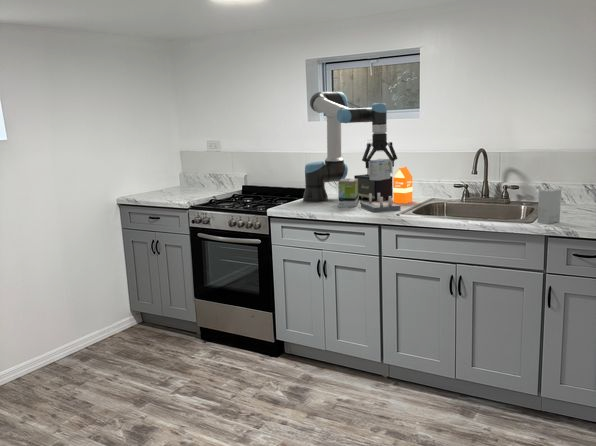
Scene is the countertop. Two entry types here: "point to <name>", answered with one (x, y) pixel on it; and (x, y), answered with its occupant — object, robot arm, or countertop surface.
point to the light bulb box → (379, 169)
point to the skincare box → (549, 206)
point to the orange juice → (402, 186)
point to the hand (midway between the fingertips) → (379, 173)
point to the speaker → (374, 187)
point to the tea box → (347, 192)
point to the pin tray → (380, 209)
